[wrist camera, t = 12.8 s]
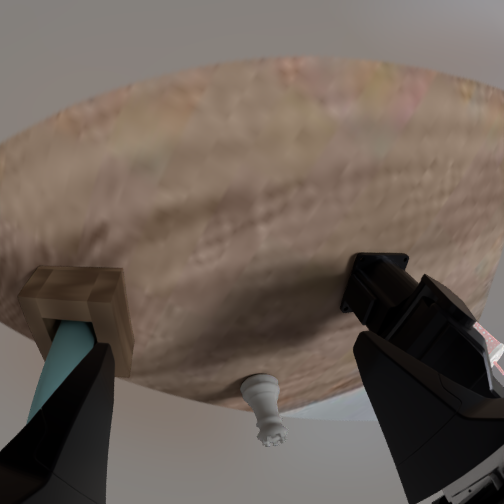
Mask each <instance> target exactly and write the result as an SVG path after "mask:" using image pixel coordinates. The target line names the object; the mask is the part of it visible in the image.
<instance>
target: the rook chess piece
mask: <svg viewBox="0 0 504 504" xmlns="http://www.w3.org/2000/svg"><path fill="white" fill-rule="evenodd" d="M240 390H241V393H242V396H243V399H244V401H246V402H247V403H248V405H249V406H251V407H252V409H253V411H254V413H255V415H256V418H257V424H256V425H257V427H259V429H260V432H259V434H258V436H257V438H258V439H259V440H260V441H262V443H263V445H265V446H266V447H270V443H273V445H274V446H277V445H278V441H280V442H281V443H284V442H285V440H287V437H286V435H287V433H288V429H287V428H286V427H284V426H283V425H282V424H281V422H282V418H281V417H280V416H279V413H278V408H277V399H278V394H279V391H280V390H279V386H278V380H277V379H276V378H275V377H273V376H272V375H269V374H257V375H253V376H251V377H249V378H247V379H246V380H245V381H244V382H243V384H242V385H241V388H240Z"/></svg>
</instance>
